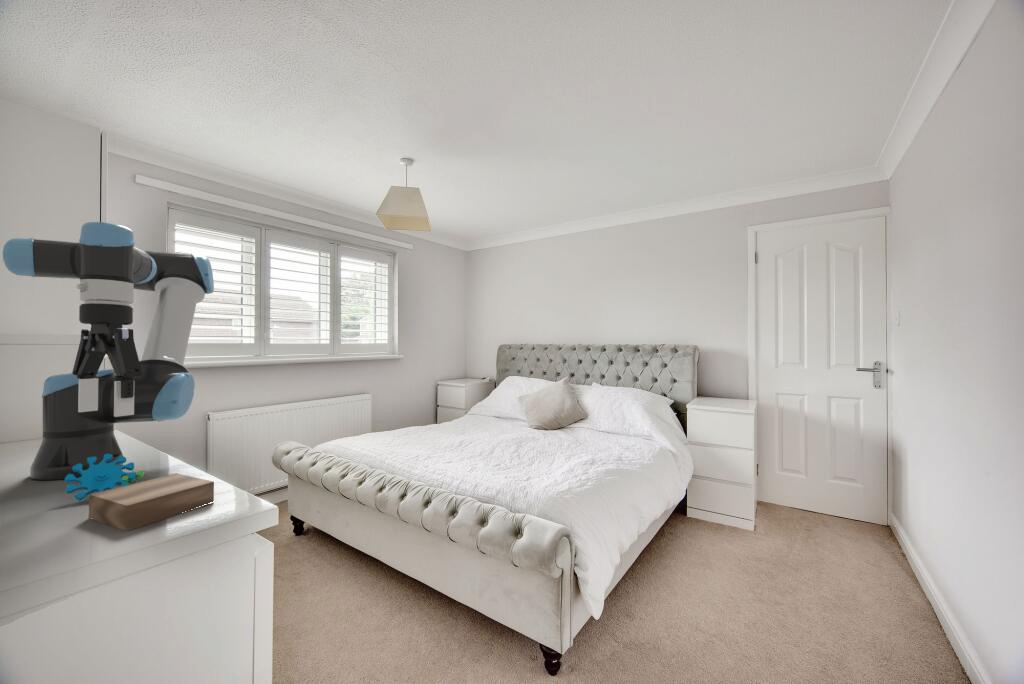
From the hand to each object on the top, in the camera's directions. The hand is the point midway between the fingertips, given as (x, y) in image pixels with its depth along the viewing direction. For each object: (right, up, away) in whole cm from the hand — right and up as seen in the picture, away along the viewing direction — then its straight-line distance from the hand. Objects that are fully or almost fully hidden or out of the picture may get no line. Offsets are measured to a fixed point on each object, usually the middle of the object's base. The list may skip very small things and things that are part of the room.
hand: (105, 413), depth 82 cm
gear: (0, -16, 0) cm, 16 cm away
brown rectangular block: (+15, -16, -7) cm, 23 cm away
